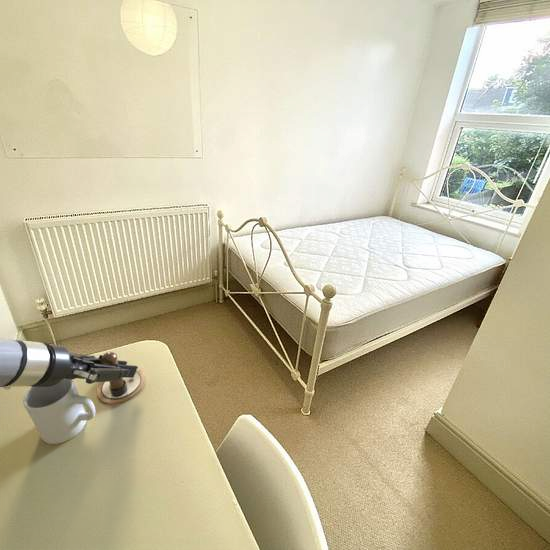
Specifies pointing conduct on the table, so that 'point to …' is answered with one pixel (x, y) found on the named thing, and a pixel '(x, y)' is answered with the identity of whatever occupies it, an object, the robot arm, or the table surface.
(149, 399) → the table surface
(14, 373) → the robot arm
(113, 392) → the stamp
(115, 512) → the table surface
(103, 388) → the face mat
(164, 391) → the table surface
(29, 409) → the mug
